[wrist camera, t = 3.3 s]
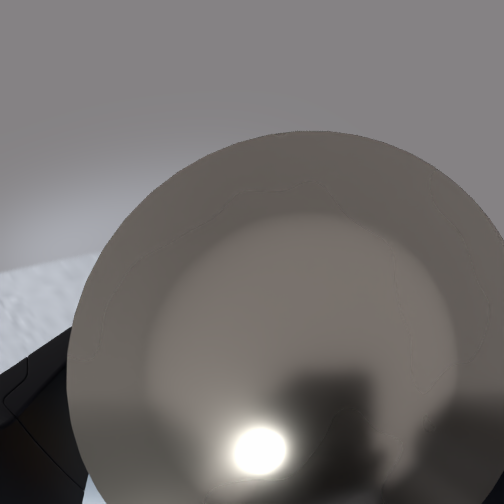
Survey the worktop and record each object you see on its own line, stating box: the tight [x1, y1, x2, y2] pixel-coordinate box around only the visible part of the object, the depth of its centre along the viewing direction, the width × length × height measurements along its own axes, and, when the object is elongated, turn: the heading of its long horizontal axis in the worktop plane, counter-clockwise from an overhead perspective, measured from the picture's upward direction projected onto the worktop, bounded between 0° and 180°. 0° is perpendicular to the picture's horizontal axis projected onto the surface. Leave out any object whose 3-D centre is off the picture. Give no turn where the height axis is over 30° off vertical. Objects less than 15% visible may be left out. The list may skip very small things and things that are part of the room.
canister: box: [67, 131, 504, 504], centre depth 9 cm, size 6×6×15 cm
